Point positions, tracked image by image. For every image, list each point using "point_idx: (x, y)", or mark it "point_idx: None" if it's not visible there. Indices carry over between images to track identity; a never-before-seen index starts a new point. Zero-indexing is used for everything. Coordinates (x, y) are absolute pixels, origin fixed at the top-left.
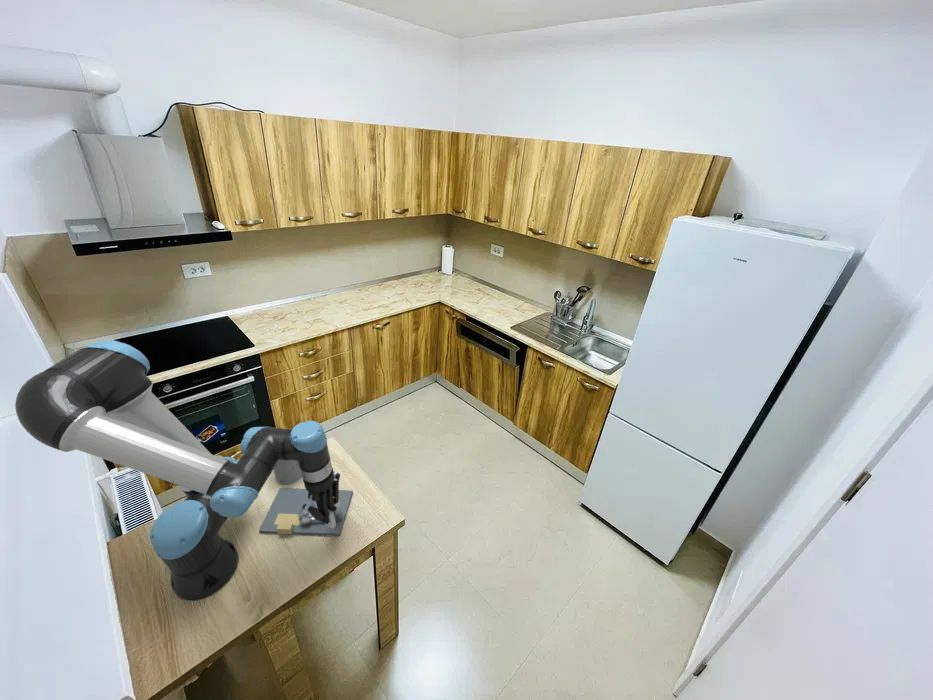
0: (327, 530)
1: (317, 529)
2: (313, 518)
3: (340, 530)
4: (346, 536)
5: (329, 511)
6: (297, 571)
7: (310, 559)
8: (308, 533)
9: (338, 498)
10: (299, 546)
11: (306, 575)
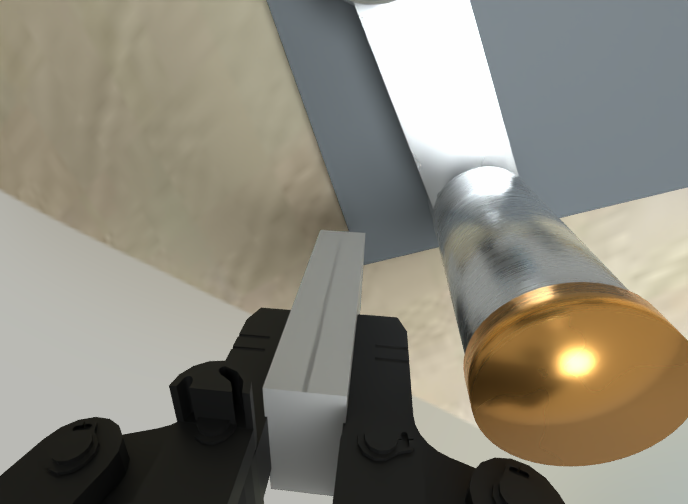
0: (353, 176)
1: (331, 96)
2: (373, 23)
3: (383, 259)
4: (373, 286)
5: (322, 463)
6: (72, 137)
7: (164, 167)
8: (281, 34)
9: (584, 459)
10: (185, 26)
11: (92, 202)
